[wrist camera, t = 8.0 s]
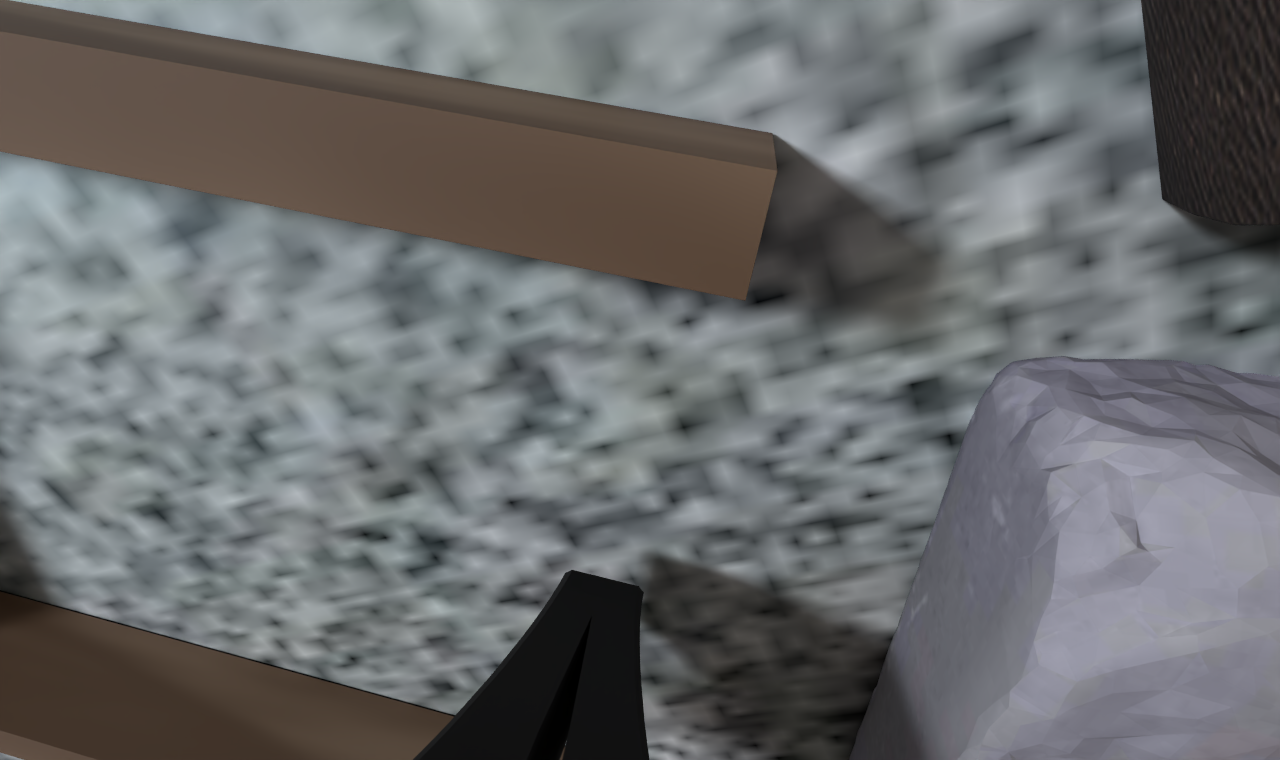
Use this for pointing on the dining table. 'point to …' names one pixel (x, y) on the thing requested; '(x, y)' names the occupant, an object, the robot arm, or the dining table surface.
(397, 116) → the shelf lane
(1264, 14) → the hardcover book
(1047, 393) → the stone block
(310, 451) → the dining table surface
